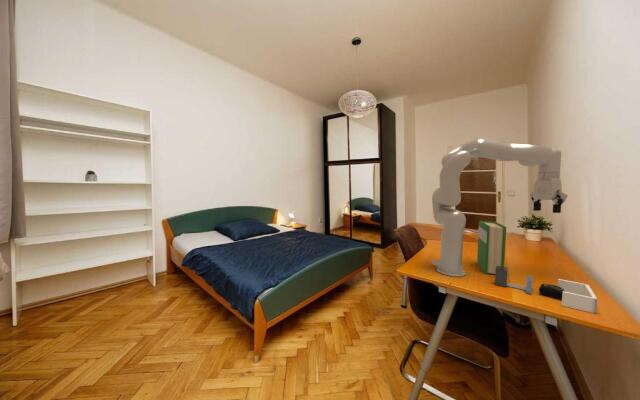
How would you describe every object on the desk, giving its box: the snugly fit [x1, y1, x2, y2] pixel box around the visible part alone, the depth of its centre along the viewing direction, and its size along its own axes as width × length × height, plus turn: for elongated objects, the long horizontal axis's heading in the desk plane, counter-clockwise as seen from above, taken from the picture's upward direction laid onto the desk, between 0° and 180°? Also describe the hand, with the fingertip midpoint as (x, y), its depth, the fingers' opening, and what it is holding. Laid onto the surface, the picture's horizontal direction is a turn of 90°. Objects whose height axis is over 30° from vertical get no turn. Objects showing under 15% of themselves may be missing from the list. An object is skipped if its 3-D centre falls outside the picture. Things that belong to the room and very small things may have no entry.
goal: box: [557, 278, 599, 315], centre depth 86 cm, size 8×16×5 cm, turn 138°
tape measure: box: [538, 283, 565, 300], centre depth 91 cm, size 7×7×4 cm
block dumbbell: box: [494, 266, 533, 295], centre depth 98 cm, size 12×8×7 cm
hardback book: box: [476, 220, 507, 275], centre depth 118 cm, size 18×7×24 cm, turn 156°
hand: (546, 211), depth 112 cm, fingers open, 9 cm apart
